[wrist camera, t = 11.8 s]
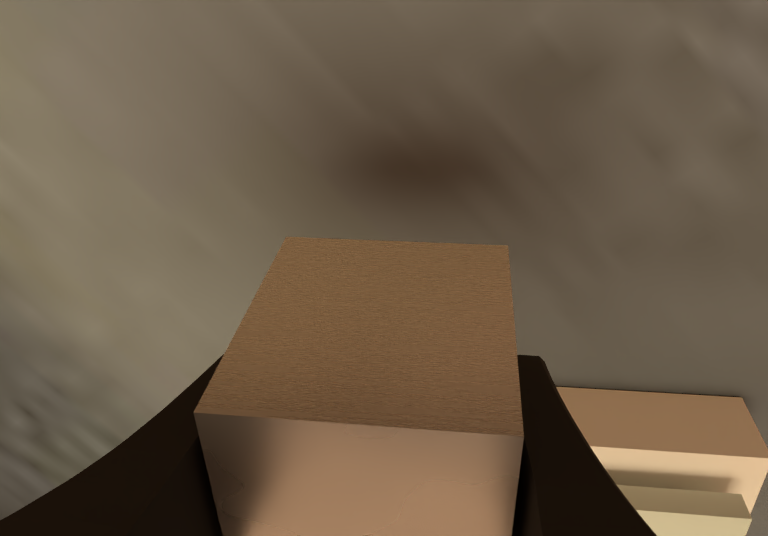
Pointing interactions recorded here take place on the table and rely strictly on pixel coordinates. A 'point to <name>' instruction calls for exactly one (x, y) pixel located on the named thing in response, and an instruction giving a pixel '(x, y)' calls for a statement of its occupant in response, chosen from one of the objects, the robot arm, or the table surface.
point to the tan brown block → (369, 395)
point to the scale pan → (689, 511)
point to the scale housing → (672, 440)
